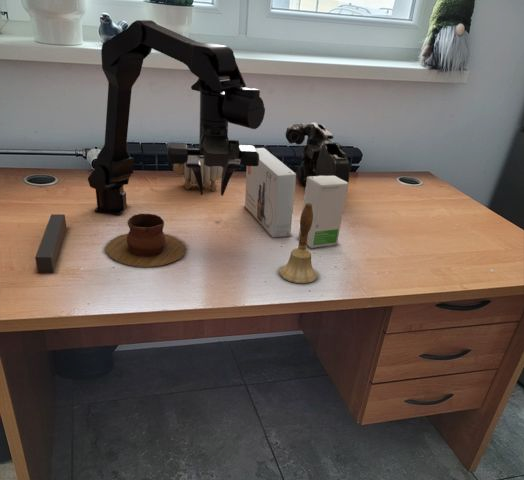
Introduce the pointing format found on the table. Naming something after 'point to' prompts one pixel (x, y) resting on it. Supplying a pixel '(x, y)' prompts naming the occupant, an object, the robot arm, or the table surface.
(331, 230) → the cosmetic box
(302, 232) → the hand bell
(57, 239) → the rail
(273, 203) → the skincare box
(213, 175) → the toy sheep
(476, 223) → the table surface
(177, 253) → the ceramic pot
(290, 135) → the movie camera
